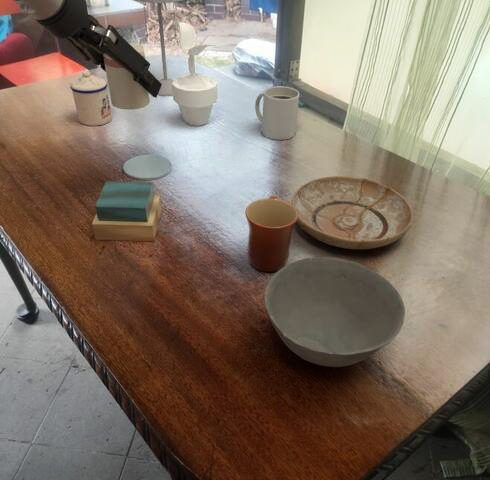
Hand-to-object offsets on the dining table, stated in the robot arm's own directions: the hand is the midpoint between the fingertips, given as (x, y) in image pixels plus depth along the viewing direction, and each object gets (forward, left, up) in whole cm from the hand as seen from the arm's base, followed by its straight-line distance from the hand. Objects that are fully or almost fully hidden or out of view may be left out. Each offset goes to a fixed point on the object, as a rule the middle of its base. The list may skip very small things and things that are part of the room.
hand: (141, 85), depth 87 cm
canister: (+2, -3, -2) cm, 4 cm away
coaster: (-5, 0, -19) cm, 20 cm away
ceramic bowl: (+33, +29, -20) cm, 48 cm away
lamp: (-49, +20, -19) cm, 56 cm away
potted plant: (-24, +20, -20) cm, 37 cm away
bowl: (+58, +7, -20) cm, 62 cm away
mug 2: (+35, +10, -20) cm, 41 cm away
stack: (+15, -10, -19) cm, 26 cm away
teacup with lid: (-37, -4, -20) cm, 42 cm away
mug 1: (-11, +37, -20) cm, 43 cm away
